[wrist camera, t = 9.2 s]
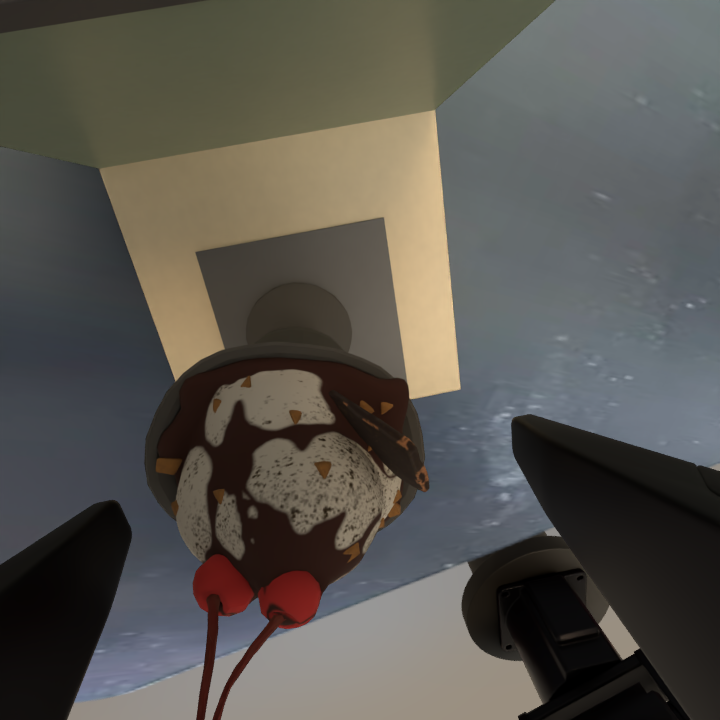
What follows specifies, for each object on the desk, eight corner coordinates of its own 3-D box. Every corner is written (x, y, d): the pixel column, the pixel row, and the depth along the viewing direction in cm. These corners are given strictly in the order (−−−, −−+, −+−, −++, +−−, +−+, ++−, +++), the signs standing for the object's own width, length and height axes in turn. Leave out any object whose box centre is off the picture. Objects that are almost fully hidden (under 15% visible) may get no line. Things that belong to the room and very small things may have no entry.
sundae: (224, 392, 20) (29, 853, 6) (230, 253, 17) (-78, 493, 4) (357, 403, 21) (449, 816, 7) (380, 274, 18) (589, 521, 5)
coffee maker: (453, 378, 23) (630, 585, 10) (202, 429, 22) (49, 716, 9) (414, -24, 16) (755, -858, 4) (63, 33, 16) (-964, -718, 3)
